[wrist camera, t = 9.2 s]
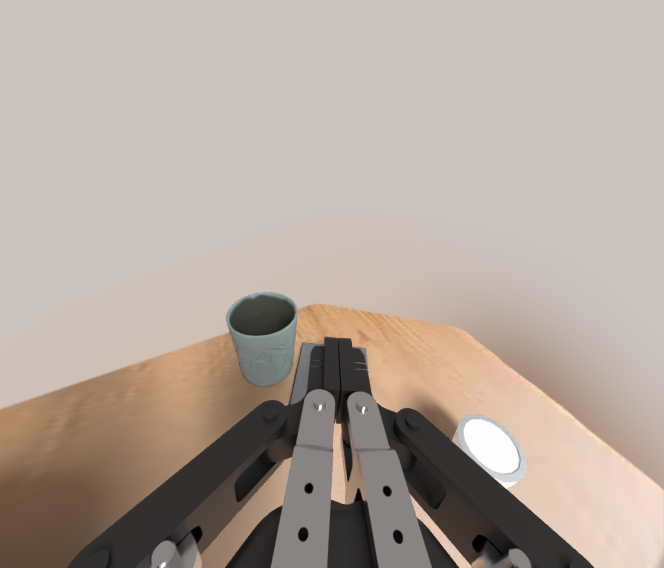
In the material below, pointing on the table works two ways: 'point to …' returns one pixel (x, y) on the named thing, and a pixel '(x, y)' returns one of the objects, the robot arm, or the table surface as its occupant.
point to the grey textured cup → (264, 336)
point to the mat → (307, 371)
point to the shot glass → (491, 448)
